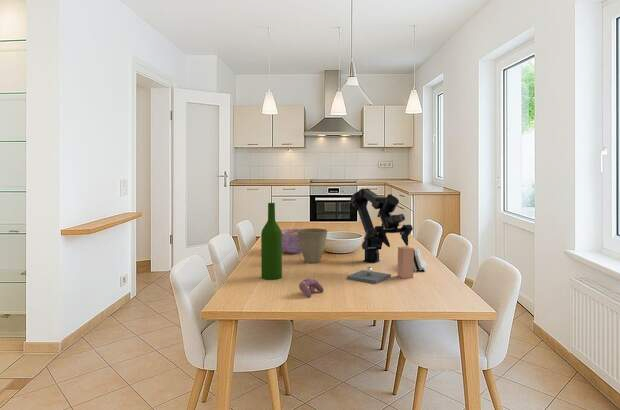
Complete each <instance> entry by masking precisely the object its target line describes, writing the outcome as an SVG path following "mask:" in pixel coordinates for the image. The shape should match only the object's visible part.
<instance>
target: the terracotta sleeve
mask: <svg viewBox="0 0 620 410" xmlns="http://www.w3.org/2000/svg"><path fill="white" fill-rule="evenodd" d="M414 250H415V248H414V247H411V246H409V245H408V246H406V245H404V246H397V274H396V275H397V277H399V278H401V279H413V278H414V268H413V267H414Z"/></svg>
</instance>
